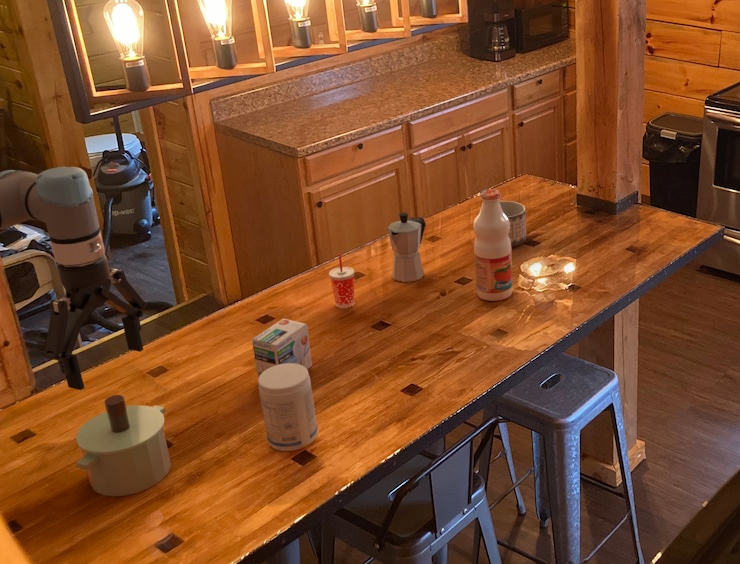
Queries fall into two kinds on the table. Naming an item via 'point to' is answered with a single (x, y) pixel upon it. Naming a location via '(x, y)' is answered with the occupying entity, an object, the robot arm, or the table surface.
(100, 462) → the pale green cooking pot
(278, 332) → the light bulb box
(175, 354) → the table surface
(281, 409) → the supplement tub
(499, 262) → the fruit juice
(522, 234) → the planter
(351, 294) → the beverage cup
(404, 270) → the coffee maker
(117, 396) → the green pot lid
